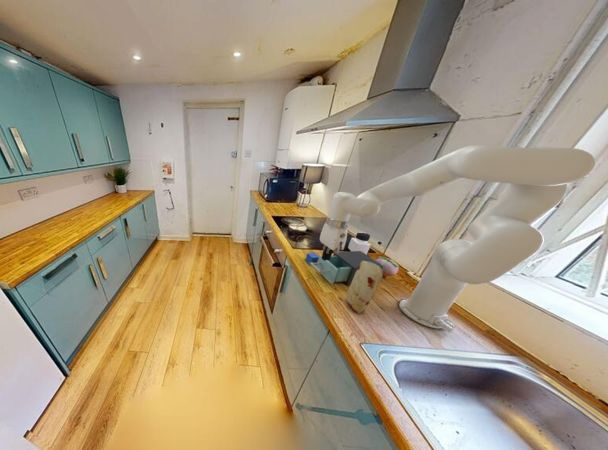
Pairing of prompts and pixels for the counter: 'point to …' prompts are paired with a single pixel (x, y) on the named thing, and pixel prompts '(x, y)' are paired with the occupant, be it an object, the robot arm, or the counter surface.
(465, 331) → the counter surface
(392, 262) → the decorative fruit
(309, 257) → the blue cube
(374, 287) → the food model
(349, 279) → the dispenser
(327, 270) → the teal drawer
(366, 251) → the medicine bottle
